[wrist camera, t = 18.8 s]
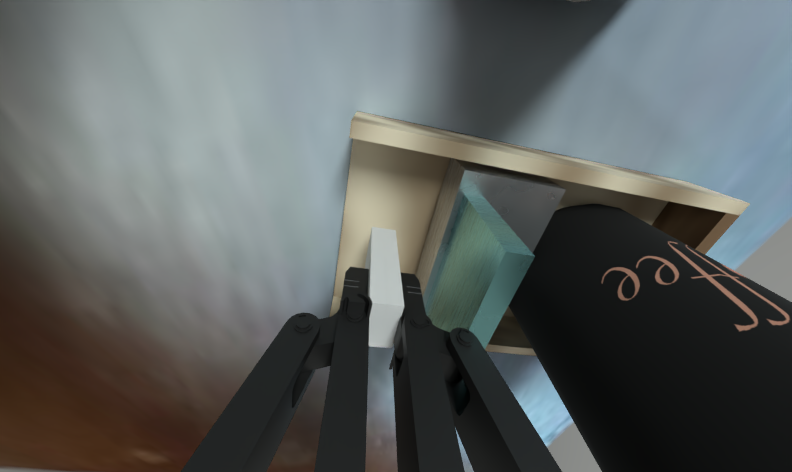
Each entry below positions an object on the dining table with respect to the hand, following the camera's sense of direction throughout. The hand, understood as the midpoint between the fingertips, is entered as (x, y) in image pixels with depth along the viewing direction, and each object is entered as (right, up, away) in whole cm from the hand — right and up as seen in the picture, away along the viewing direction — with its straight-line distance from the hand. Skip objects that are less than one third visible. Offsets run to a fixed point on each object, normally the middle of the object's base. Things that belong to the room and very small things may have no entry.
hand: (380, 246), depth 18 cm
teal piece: (+6, 0, +3) cm, 7 cm away
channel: (+9, 0, +4) cm, 10 cm away
